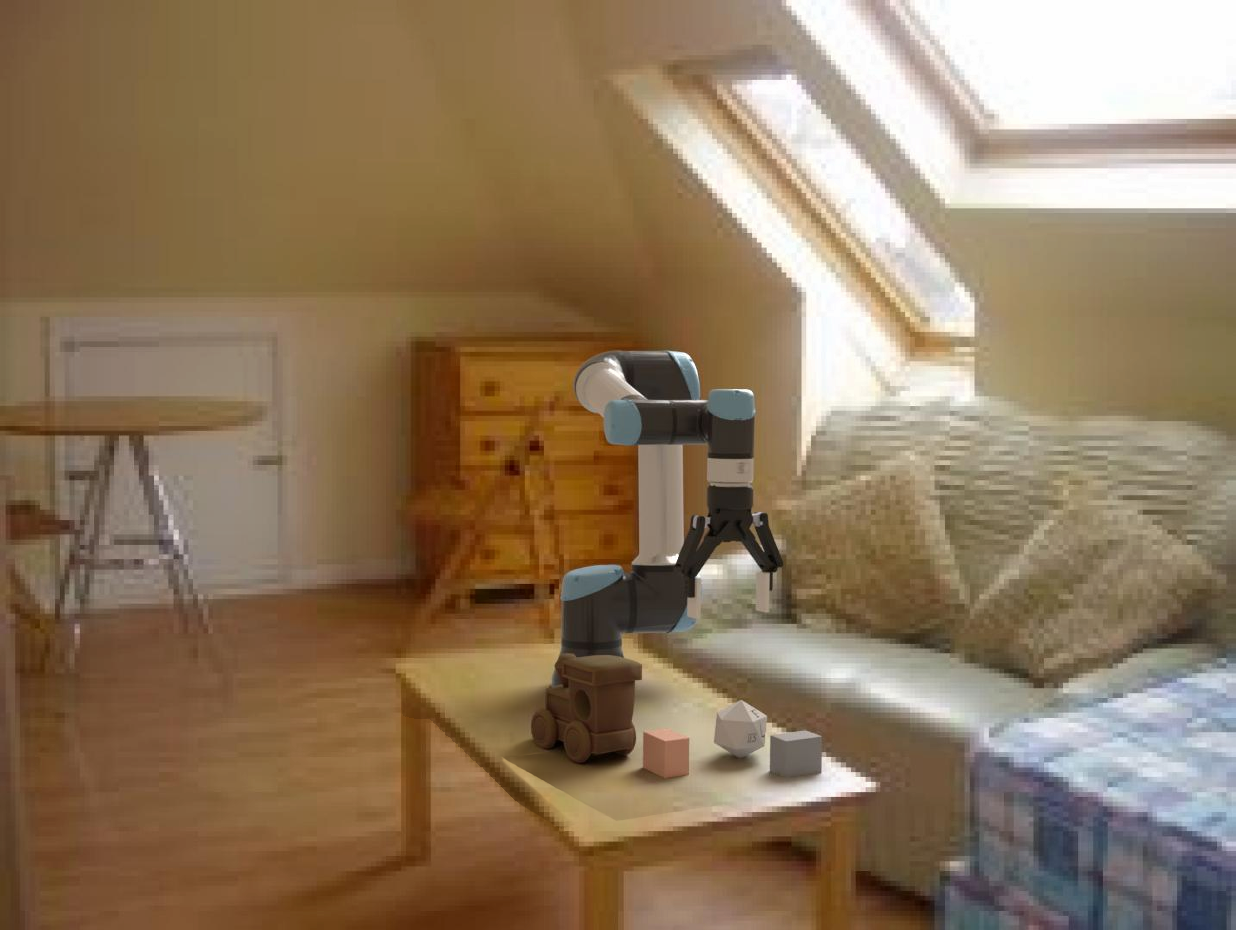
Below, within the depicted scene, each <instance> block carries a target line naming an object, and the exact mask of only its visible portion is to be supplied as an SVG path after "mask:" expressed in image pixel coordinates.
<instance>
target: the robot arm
mask: <svg viewBox="0 0 1236 930" xmlns="http://www.w3.org/2000/svg"><path fill="white" fill-rule="evenodd" d="M698 374H699V373H698V370H697V367H696V365H695V363H694V361H693V359H692V357H691V356H690V355H689V354H688V353H686V352H683V351H673V350H667V349H666V350H620V349H619V350H609V351H604V352H601V353H598V354H596V355H594V356H592V357H590V358H589V359H587V360H586V361H584V362H583V363H582V364H581V365H580V367H579V368H578V369H577V371H576V372H575V375H574V379H573V391H574V393H573V394H574V395H575V398H576V399H577V401H578V403H579V404H581V406H582V407H583V408H585V409H586V410H587V411H589V412H592V413H595V414H599V416H601V417H602V419H603V432H604V436H605V439H606V441H607V442H608V443H609V444H611V445H616V446H617V445H620V446H621V445H622V446H625V447H631V446H637V447H638V449H637V450H638V451H637V452H638V456H637V457H638V458H637V459H638V544H639V546H638V547H639V548H638V549H639V553H638V556H636V557H635V558H634V559H633V560H632V561H631V572H624V571H625V570H623V567H622V566H621V565H620V564H606V565H605V564H599V565H591V566H585V567H581V568H580V567H579V568H576V569H573V570H570V571H568V572H567V573H566V574H565V575H564V577H562V583H561V592H560V596H559V598H560V601H561V602H560V603H561V607H560V608H561V609H560V610H561V611H560V613H561V615H560V616H561V617H560V619H561V623H560V624H561V625H560V629H561V630H560V631H561V632H560V634H561V635H560V639H561V642H560V650H559V651H560V652H559V654H558V658H559V657H560V655H561V654H565V653H570V654H574V655H575V656H576V658H578V657H586V656H594V655H612V656H619V657H623V658H625V655H624V652H623V634H624V635H626V634H653V633H654V634H657V633H666V634H672V633H678V632H680V633H681V632H686V631H689V630H690V629H692V628H693V627H694V626H695V625H696V623H697V621H698V620H699V619H701V618H702V617H701V613H702V610H701V609H702V608H701V606H702V601H703V585H702V581H703V580H702V577H701V574H700V572H701V570H702V568H703V567H704V566H705V565H706V563H707V562H708V560H709V558H710V557H711V556H712V554H713V552H714V551H715V550H716V548H718V546H719V545H721V544H722V543H731V542H740V543H742V545H743V546H744V548H745V549H746V551H748V554H749V555H750V556H751V558H752V559H753V561H754V562H755V563H756V565H757V566H758V567H759V568H760V570H756V572H755V573H756V574H755V579H756V580H755V611H756V612H762V613H769V612H770V592H772V591H773V584H774V583H773V582H774V576H773V575H774V574H775V573H776V572H777V571H778V569H779V568H783V566H784V561H783V558H782V556H781V553H780V551H779V548H778V546H777V543H776V541H775V539H774V536H773V533H772V530H771V528H770V525H769V514H768V513H767V512H761V511H755V512H754V513H752V508H753V507H754V488H753V486H752V485H751V484H752V483H753V482H754V475H755V474H754V470H755V468H754V467H755V466H754V465H755V464H754V463H755V460H754V459H755V457H754V456H755V455H754V454H755V416H756V413H757V411H756V406H755V395H754V393H753V391H752V390H750V389H742V388H741V389H740V388H739V389H736V388H734V389H731V388H729V389H727V388H720V389H719V388H717V389H716V388H715V389H711V390H710V391H708V392H709V393H708V396H707V397H708V398H707V399H706V398H704V399H700V398H701V387H700V379H699V375H698ZM685 445H686V446H687V445H688V446H692V445H693V446H695V445H696V446H698V445H699V446H700V445H701V446H707V460H706V462H707V464H706V467H707V468H706V481H707V482H708V483H710V485H708V486H707V487H706V507H707V509H708V513H707V515H706V516H703V515H697V514H693V515H691V516H690V524H689V525H690V526H689V530H688V531H687V535H686V537H685V536H684V532H685V530H684V529H685V528H684V464H683V463H684V456H683V455H684V453H683V451H684V450H683V449H684V448H683V447H684V446H685ZM750 483H751V484H750ZM752 525H753V526H754V529H755V532H756V535H757V537H758V539H759V542H760V544H761V545H760V544H759V542H758V541H757V539H756V536H755V535H754V533H753V532H752V530H751V529H750V528H751V527H752ZM707 527H708V530H707V532H706V533H705V529H707ZM704 534H705V535H704ZM684 538H685V539H684ZM702 539H703V541H702V542H701V540H702ZM700 543H701V544H700ZM558 658H557V659H558ZM557 685H562V683H561V680H560V678H559V676H558V674H557V671H556V669H555V668H554V670H553V673H552V677H551V687H553V686H557Z"/></svg>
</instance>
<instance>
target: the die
mask: <svg viewBox="0 0 1236 930" xmlns="http://www.w3.org/2000/svg"><path fill="white" fill-rule="evenodd" d="M767 723H768V715H766V714H765V713H763V712H762V711H760V710H759V709H757V708H755V707H753V706H752V705H750V704H749V703H747V702H746V701H745V700H742V699H740V700H738V701H736V702H734V703H733V704H730V705H728V706H727V707H724V708H723V709H721V710H719V711H717V712H716V718H715V726H714V737H713V743H714V744H715V745H717V746H719V747H720V748H722V749H724V750H725V751H727V752H728V753H730V754H731V755H733V756H735V757H737V758H739V759H742V758H744V757H746V756H749V755H750V754H752V753H755V752H756V751H758V750H760V749H762V748H763V747H765V743H766V734H767V733H766V732H767Z"/></svg>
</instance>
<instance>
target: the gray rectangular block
mask: <svg viewBox="0 0 1236 930" xmlns="http://www.w3.org/2000/svg"><path fill="white" fill-rule="evenodd" d="M822 755H823V736H822V735H819V734H817V733H814V732H811V731H808V730H806V729H805V730H798V731H790V732H784V733H778V734H777V733H776V734H770V735H769V772H770V773H774V774H775V775H778V776H780V777H783V778H784V779H786V778H787V779H788V778H795V777H801V776H807V775H813V774H820V773H822V766H823V764H822V763H823V762H822V759H823V756H822Z"/></svg>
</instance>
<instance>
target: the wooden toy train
mask: <svg viewBox="0 0 1236 930" xmlns="http://www.w3.org/2000/svg"><path fill="white" fill-rule="evenodd" d="M558 657H559V656H558ZM554 669H556V671H557V674H558V676H559V678H560V680H561V683H562V685H557V686H553V687H552V686H551V687H548V688H546V690H545V695H544V696H545V697H544V708H539V709H538V710H536V711H535V712H534V714H533V715H532V718H531V721H530V733H531V736H532V739H533V741H534V743H535V745H536V746H537V747H539V748H542V749H545V750H550V749H552V748H553V747H554V746H555V744H556V743H557V741H561V742H563V746H564V750H565V752H566V754H567V756H568V757H569V759H570V760H571V761H572V762H574V763H575V764H583V763H585V762H586V761H587V760H589V758H590V756H591V754H594V755H599V754H606V753H610V752H611V753H612V752H615V754H618V755H619V756H624V757H625V756H628V755H629V754H631V753H632V752H633V751H634V749H635V747H636V743H637V731H636V727H635V725H634V722H633V715H634V711H635V710H634V706H635V699H636V698H635V696H636V681H643V664H642V663H640V662H638V661H636V660H633V659H629V658H626V657H624V658H623V657H619V656H612V655H594V656H586V657H578V658H576V656H575V655H574V654H570V653H565V654H561V655H560V657H559V658H557V659H556V662H555V663H554Z"/></svg>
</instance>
